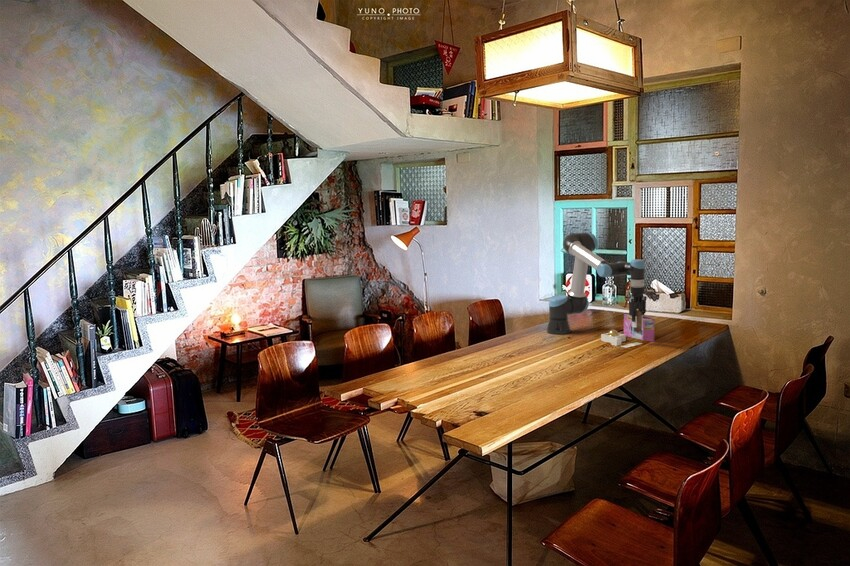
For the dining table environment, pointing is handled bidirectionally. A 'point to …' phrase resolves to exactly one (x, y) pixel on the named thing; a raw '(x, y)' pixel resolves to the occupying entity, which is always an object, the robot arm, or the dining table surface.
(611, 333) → the dome
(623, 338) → the dome collar
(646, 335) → the gum box
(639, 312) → the brown rounded rod
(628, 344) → the board
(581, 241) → the robot arm
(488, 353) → the dining table surface
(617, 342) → the die
